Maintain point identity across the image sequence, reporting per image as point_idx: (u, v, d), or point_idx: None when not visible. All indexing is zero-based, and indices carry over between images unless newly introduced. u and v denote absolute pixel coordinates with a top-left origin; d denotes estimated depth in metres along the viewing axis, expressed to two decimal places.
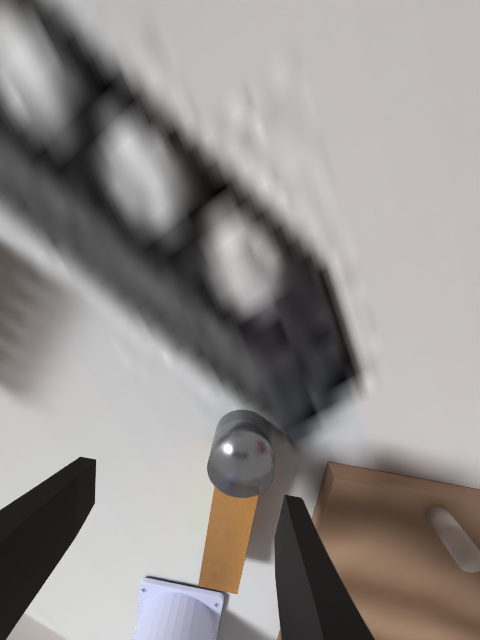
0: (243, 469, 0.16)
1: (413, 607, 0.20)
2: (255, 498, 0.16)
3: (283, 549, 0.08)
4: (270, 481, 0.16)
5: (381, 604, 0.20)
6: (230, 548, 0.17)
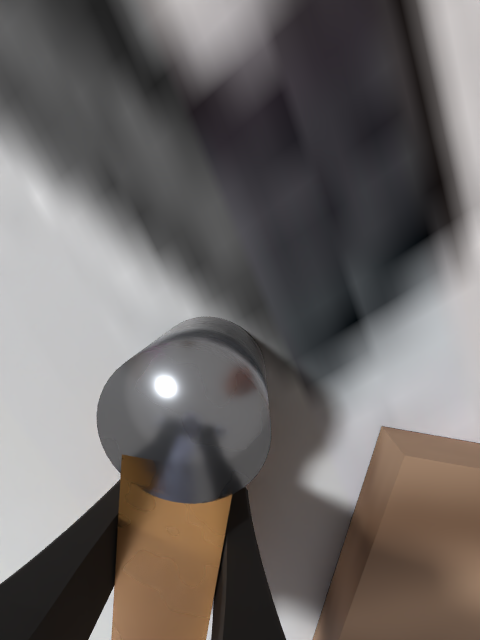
0: (190, 428, 0.06)
1: None
2: (224, 504, 0.06)
3: None
4: (261, 459, 0.06)
5: None
6: (171, 621, 0.08)
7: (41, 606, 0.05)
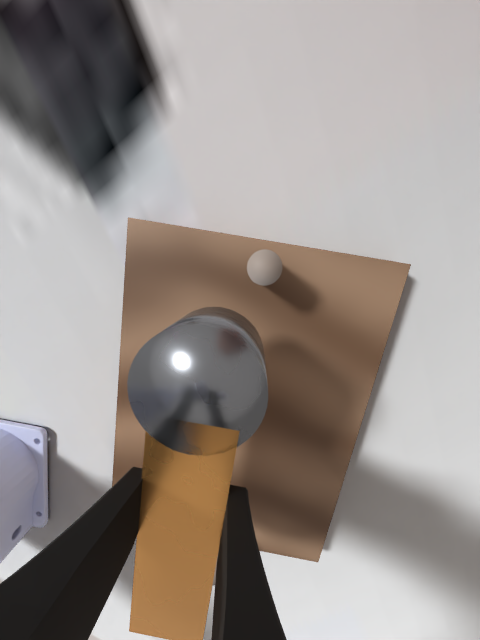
0: (202, 391, 0.07)
1: None
2: (230, 456, 0.08)
3: (222, 537, 0.08)
4: (260, 417, 0.08)
5: None
6: (184, 560, 0.09)
7: (41, 606, 0.05)
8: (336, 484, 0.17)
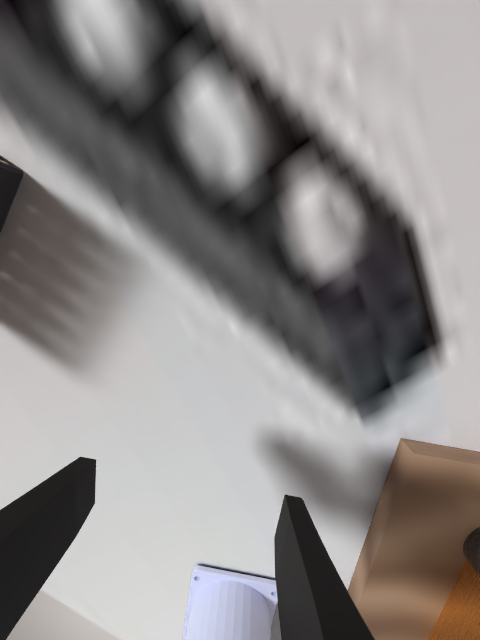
0: None
1: None
2: None
3: (283, 549, 0.08)
4: None
5: None
6: None
7: None
8: None
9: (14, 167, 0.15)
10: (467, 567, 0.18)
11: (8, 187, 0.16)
